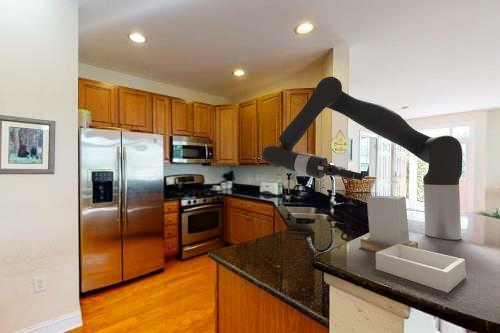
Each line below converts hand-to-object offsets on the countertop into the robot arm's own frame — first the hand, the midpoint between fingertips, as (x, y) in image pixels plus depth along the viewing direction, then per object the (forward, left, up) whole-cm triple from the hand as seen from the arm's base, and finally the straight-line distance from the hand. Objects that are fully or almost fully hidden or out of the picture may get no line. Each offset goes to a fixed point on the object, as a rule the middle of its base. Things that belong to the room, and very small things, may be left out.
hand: (358, 176), depth 70 cm
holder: (-2, +7, -20) cm, 22 cm away
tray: (+9, +18, -20) cm, 29 cm away
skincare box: (-2, +7, -21) cm, 22 cm away
